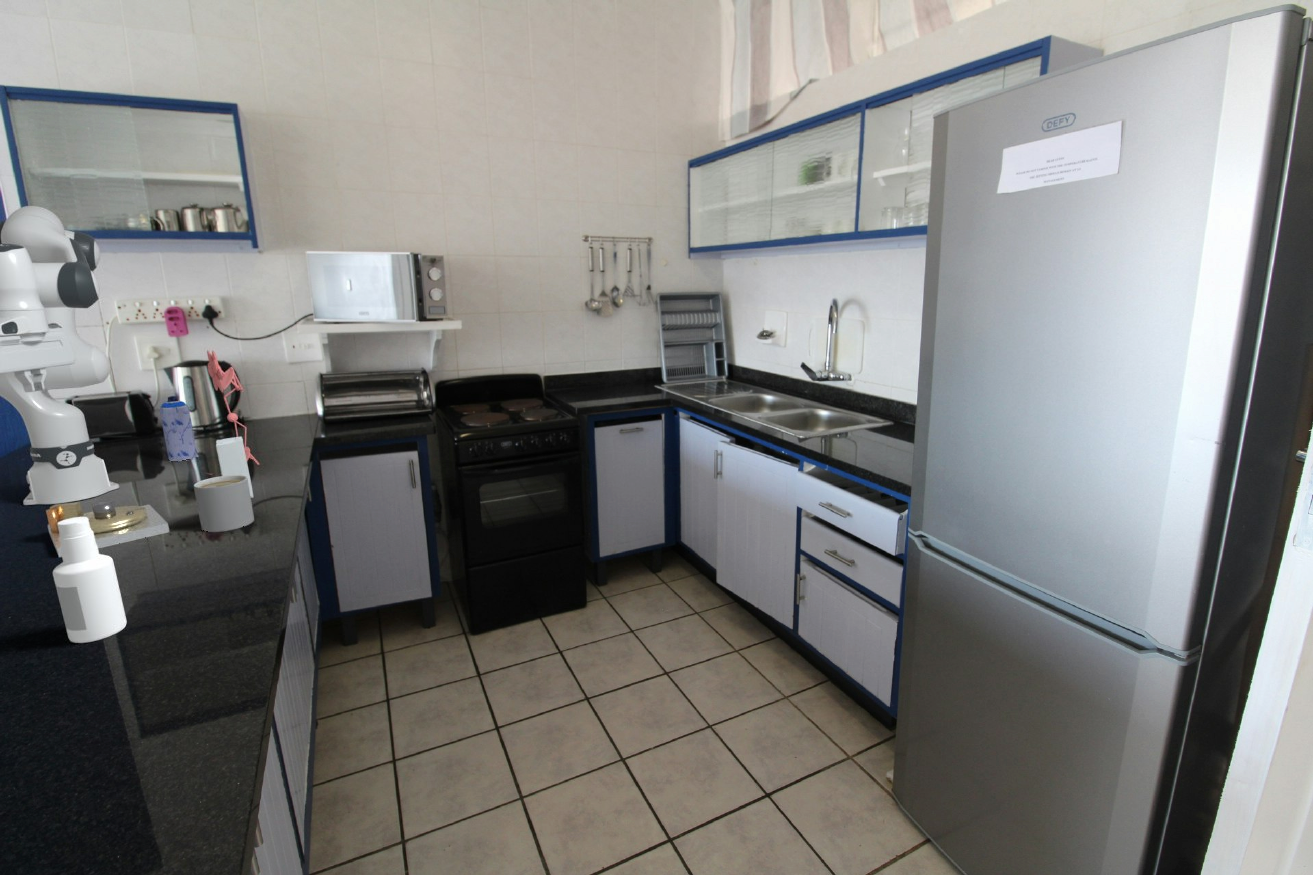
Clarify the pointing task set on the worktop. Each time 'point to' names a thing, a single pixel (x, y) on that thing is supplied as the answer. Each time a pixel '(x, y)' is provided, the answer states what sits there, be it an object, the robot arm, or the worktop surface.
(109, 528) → the flange plate
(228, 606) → the worktop surface
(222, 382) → the figurine
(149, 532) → the base plate
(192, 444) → the aerosol can
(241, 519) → the coffee mug
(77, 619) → the white bottle
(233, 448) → the skincare box
